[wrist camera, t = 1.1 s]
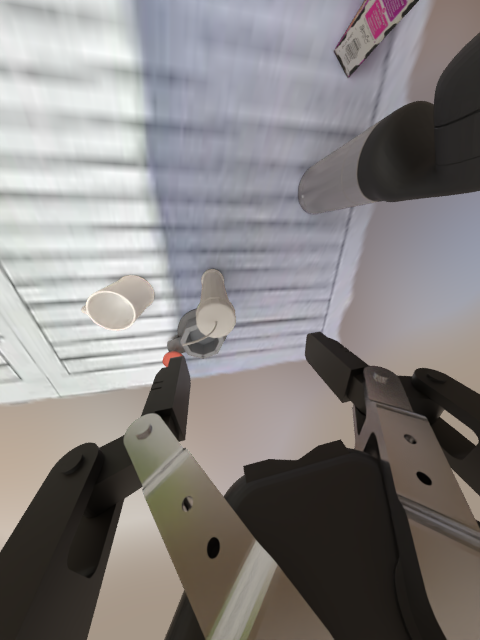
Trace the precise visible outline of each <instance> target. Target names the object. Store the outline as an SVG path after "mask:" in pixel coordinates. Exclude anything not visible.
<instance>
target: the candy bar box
mask: <svg viewBox="0 0 480 640" xmlns="http://www.w3.org/2000/svg"><path fill="white" fill-rule="evenodd" d="M418 1H419V0H365V1H364V3H363V4H362V6H361V8H360V9H359V11H358V12H357V14H356V16H355V17H354V19H353V21H352V22H351V24H350V26H349V27H348V29H347V30H346V32H345V34H344V35H343V37H342V39H341V40H340V42H339V43H338V45H337V47H336V48H335V53H336V55H337V57H338V59H339V61H340V63H341V65H342V67H343V69H344V71H345V73H346V75H347V76H348V77H350V75H351V74H352V73H353V72H354V71H355V70H356V69H357V68H358V67H359V65H360V64H361V63H362V62H363V61H364V60H365V59H366V58H367V57H368V56H369V54H370V53H371V52H372V51H373V50H374V49H375V48H376V47H377V46H378V45H379V43H380V42H381V41H382V40H383V39H384V38H385V37H386V36H387V35H388V33H389V32H390V31H391V30H392V29H393V28H394V27H395V26H396V25H397V24H398V23H399V22H400V20H401V19H402V18H403V17H404V16H405V15H406V14H407V13H408V12H409V11H410V10H411V9H412V7H413V6H414V5H415V4H416V3H417V2H418Z"/></svg>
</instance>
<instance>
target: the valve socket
mask: <svg viewBox="0 0 480 640" xmlns="http://www.w3.org/2000/svg"><path fill="white" fill-rule="evenodd" d="M196 310H197V309H194V310H192V311H189V312H188V313H186V314H185V315H184V316H183V317H182V319H181V320H180V322H179V325H178V336H179V337H178V338H176V339H173V340H171V341H168V343H167V347H168V350H169V352H168V353H166V354H165V355H164V358H163V364H164V365H165V366H166V367H168V364H169V360H170V358H173V357H179V356H183V355H182V354H181V353H184V352H187V354H188V355H191V356H194V357H198V358H202V359H204V358H207V357H210V356H212V355H215V354H218V352H219V350H220V348H221V346H222V344H223V342H224V341H225V339H226V337H227V335H226V336H223V337H221V338H211V337H207V338H205V339H203V340H201V341H199V342H196V343H193V344H190V345H185V346H183V344H185V343H189V342H193V341H196V340H198V339H201V338H203V337H205V336H206V335H204V334H203V333H201V332H200V330H199V329H198V327H197V324H196Z"/></svg>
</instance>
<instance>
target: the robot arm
mask: <svg viewBox="0 0 480 640" xmlns="http://www.w3.org/2000/svg"><path fill="white" fill-rule="evenodd" d="M476 191H480V33H479V34H477V35H476V36H475V37H474V38H473V39H472V40H471V41H470V42H469V43H468V44H467V45H466V46H465V47H464V48H463V49H462V50H461V51H460V52H459V53H458V54H457V55H456V56H455V57H454V59H453V60H452V61H451V62H450V63H449V65H448V66H447V67H446V69H445V70H444V71H443V73H442V75H441V76H440V79H439V81H438V83H437V86H436V91H435V99H434V105H433V104H431V103H429V102H426V101H416V102H412V103H409V104H407V105H405V106H403V107H401V108H399V109H397V110H396V111H394V112H393V113H391V114H390V115H388V116H387V117H386V118H384V119H382V120H381V121H379V122H378V123H376V124H375V125H373V126H372V127H370V128H369V129H367V130H366V131H365V132H363V133H362V134H360V135H359V136H357V137H355V138H354V139H352V140H351V141H349V142H348V143H346V144H345V145H343V146H342V147H340V148H339V149H337V150H336V151H334V152H333V153H331V154H330V155H328V156H327V157H325V158H324V159H322V160H321V161H319V162H318V163H316V164H315V165H313V166H312V167H310V168H309V169H308V170H307V171H306V172H305V174H304V175H303V177H302V179H301V181H300V185H299V190H298V198H299V202H300V204H301V207H302V208H303V209H304V210H305V211H306V212H308V213H310V214H318V213H323V212H329V211H334V210H339V209H344V208H349V207H354V206H359V205H364V204H369V203H374V202H379V201H386V202H398V201H404V200H412V199H420V198H429V197H439V196H449V195H455V194H464V193H469V192H476ZM305 357H306V360H307V361H308V363H309V364H310V365H311V366H312V367H313V369H314V370H315V371H316V372H317V373H318V375H319V376H320V377H321V378H322V379H323V380H324V382H325V383H326V384H327V385H328V386H329V387H330V389H331V390H332V391H333V392H334V394H336V396H337V397H338V398H339V399H340V401H341V402H342V403H344V402H348V401H352V403H353V407H352V409H353V421H354V432H355V448H354V449H350V448H346V447H345V445H344V444H343V442H342V441H341V440H337V441H334V442H330V443H326V444H323V445H319V446H317V447H316V448H314V449H313V450H312V451H310V452H309V453H307V454H306V455H305V456H303V457H302V458H300V459H299V460H275V459H268V460H265V461H261V462H257V463H253V464H249V465H246V466H243V467H244V474H245V475H244V476H242V477H241V478H239V479H238V480H237V481H236V482H235V483H234V484H233V485H232V486H231V487H230V489H229V490H228V491H227V492H226V494H225V495H224V497H223V496H222V494H221V493H220V492H219V490H218V489H217V488H216V486H215V485H214V484H213V482H212V481H211V480H210V479H209V477H208V476H207V474H206V473H205V472H204V470H203V469H202V468H201V466H200V465H199V464H198V463H197V461H196V460H195V459H194V457H193V456H192V455H191V453H190V452H189V451H188V450H187V449H186V448H183V447H182V446H181V444H180V443H179V441H183V440H185V435H186V425H187V415H188V405H189V394H190V384H191V383H190V375H189V371H188V368H187V364H186V361H185V357H184V356H179V357H173V358H170V360H169V364H168V367H166V368H162V369H161V370H160V371H159V372H158V373H157V375H156V376H155V379H154V382H153V385H152V387H151V391H150V393H149V396H148V398H147V401H146V404H145V407H144V409H143V412H142V415H141V417H140V418H138V419H137V420H135V421H134V422H133V423H132V424H131V425H130V426H129V428H128V429H127V431H126V433H125V435H123V436H122V437H120V438H118V439H116V440H114V441H112V442H110V443H108V444H106V445H104V446H102V447H100V448H99V447H98V446H97V445H96V444H95V443H85V444H82V445H80V446H78V447H76V448H74V449H72V450H71V451H69V452H68V453H67V454H66V455H64V456H63V457H62V458H61V459H60V460H59V461H58V462H57V463H56V464H55V466H54V467H53V468H52V470H51V471H50V473H49V474H48V476H47V478H46V479H45V481H44V483H43V484H42V486H41V487H40V489H39V491H38V492H37V494H36V495H35V497H34V499H33V500H32V502H31V504H30V505H29V507H28V508H27V510H26V512H25V513H24V515H23V516H22V518H21V520H20V521H19V523H18V525H17V526H16V528H15V529H14V531H13V533H12V535H11V536H10V537H9V539H8V541H7V542H6V544H5V546H4V547H3V549H2V550H1V552H0V640H87V637H88V633H89V629H90V626H91V622H92V618H93V614H94V611H95V607H96V603H97V599H98V596H99V591H100V588H101V584H102V580H103V577H104V573H105V569H106V565H107V562H108V558H109V554H110V550H111V546H112V543H113V539H114V535H115V532H116V528H117V524H118V520H119V517H120V513H121V509H122V505H123V502H124V498H126V497H127V496H129V495H131V494H132V493H134V492H135V491H137V490H138V489H140V488H141V487H143V494H144V496H145V499H146V501H147V503H148V506H149V508H150V511H151V513H152V515H153V518H154V520H155V522H156V525H157V527H158V529H159V532H160V534H161V536H162V539H163V541H164V543H165V546H166V548H167V550H168V553H169V555H170V557H171V560H172V562H173V564H174V567H175V569H176V571H177V574H178V576H179V578H180V581H181V583H182V585H183V588H184V593H183V595H182V597H181V600H180V602H179V605H178V607H177V610H176V612H175V615H174V617H173V620H172V622H171V625H170V627H169V630H168V632H167V634H166V637H165V640H480V522H479V521H477V520H476V519H475V518H474V516H473V514H472V512H471V509H470V507H469V505H468V503H467V501H466V499H465V497H464V495H463V493H462V490H461V488H460V487H459V484H458V482H457V480H456V478H455V476H454V474H453V472H452V470H451V468H452V469H453V470H454V471H455V472H456V473H457V474H458V475H459V476H460V477H461V478H462V479H463V480H464V481H465V482H466V483H467V484H468V485H469V486H470V487H471V488H472V489H473V490H474V491H475V492H476V493H477V494H478V495H479V496H480V394H478V393H476V392H475V391H473V390H471V389H470V388H468V387H466V386H464V385H463V384H461V383H460V382H458V381H456V380H454V379H453V378H451V377H449V376H448V375H446V374H444V373H441V372H439V371H436V370H432V369H428V368H419V369H416V370H415V372H414V374H413V376H397V375H396V374H394V373H393V372H391V371H389V370H387V369H385V368H382V367H378V366H369V365H367V364H366V363H365V362H364V361H362V360H361V359H360V358H358V357H357V356H356V355H354V354H353V353H352V352H349V350H348V349H347V348H345V347H344V346H343V345H341V344H340V343H339V342H338V341H335V340H333V339H331V338H328V337H326V336H325V335H324V334H323V333H321V332H315V333H310V334H308V335H307V339H306V348H305ZM444 409H445V410H446V411H448V412H449V413H450V414H452V415H453V416H454V417H456V418H457V419H458V420H460V421H461V422H462V423H464V424H465V425H466V426H468V427H469V428H470V429H472V430H473V431H474V432H475V434H476V435H477V437H478V439H479V443H478V444H477V445H476V446H475V445H474V444H473V443H472V442H470V441H469V440H468V439H467V438H465V437H464V436H463V435H462V434H460V433H459V432H458V431H457V430H455V429H454V428H453V427H451V426H450V425H449V424H448V423H446V422H445V421H444V420H443V419H442V418H440V415H441V414H442V412H443V411H444Z"/></svg>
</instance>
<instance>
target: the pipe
mask: <svg viewBox="0 0 480 640" xmlns="http://www.w3.org/2000/svg"><path fill="white" fill-rule="evenodd" d="M201 282H202V292H201V300H200V304H199V305H198V307H197V310H196V324H197V327H198V329H199V330H200V332H201V333H203V334H204V335H206V336H205V337H203V338H201V339H198V340H196V341H193V342H189V343H185V344H183V346H185V345H190V344H193V343H196V342H199V341H201V340H203V339H205V338H207V337H211V338H221V337H223V336H226V335H228V334H229V333H230V332H231V331H232V330H233V328H234V326H235V323H236V316H235V310H234V308H233V305H232V303H231V302H230V301H229V300H228V297H227V293H226V290H225V287H224V278H223V276H222V274H221V273H220V272H219V271H218V270H215V269H209V270H207V271H206V272H205V273H204V274H203V276H202V279H201Z"/></svg>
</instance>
